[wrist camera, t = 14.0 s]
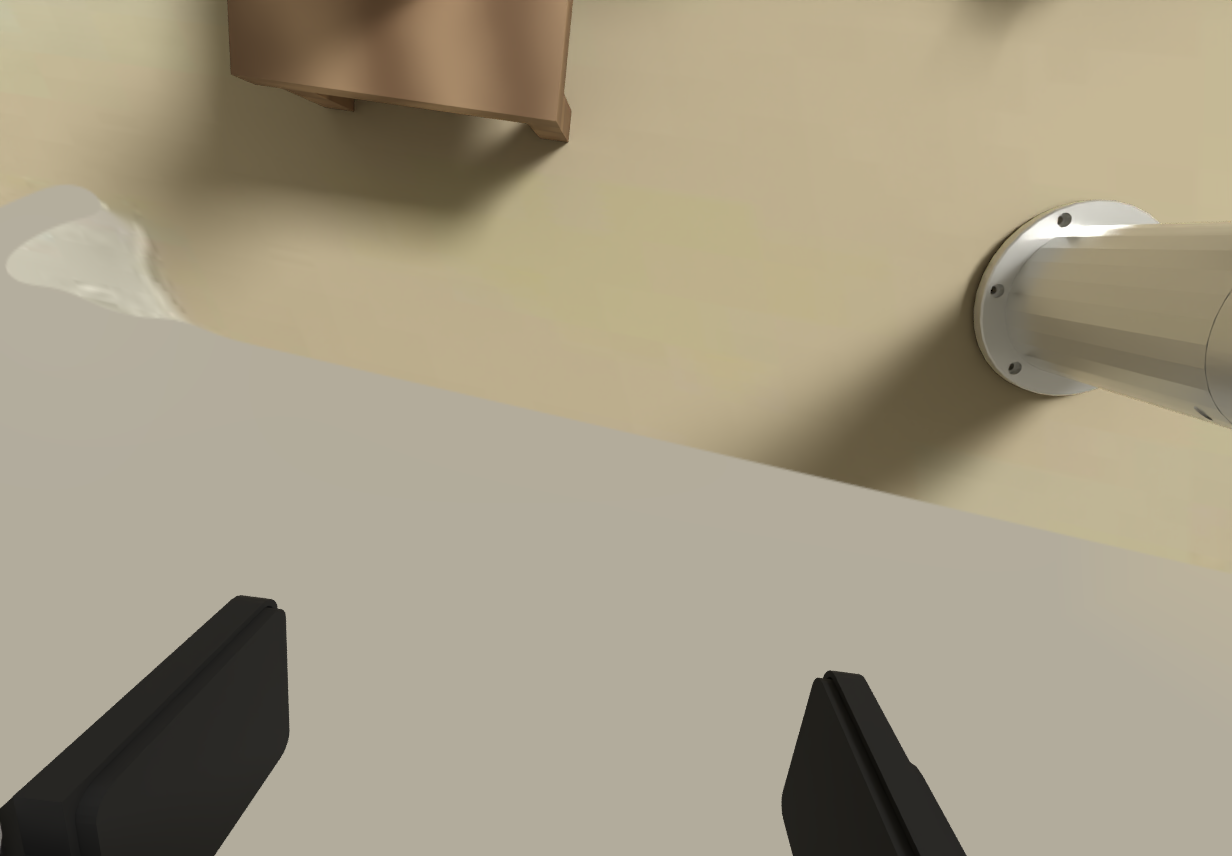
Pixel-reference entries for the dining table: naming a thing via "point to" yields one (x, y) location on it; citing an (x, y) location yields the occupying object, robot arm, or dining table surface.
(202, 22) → the dining table surface
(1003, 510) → the dining table surface
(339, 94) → the small wooden table
